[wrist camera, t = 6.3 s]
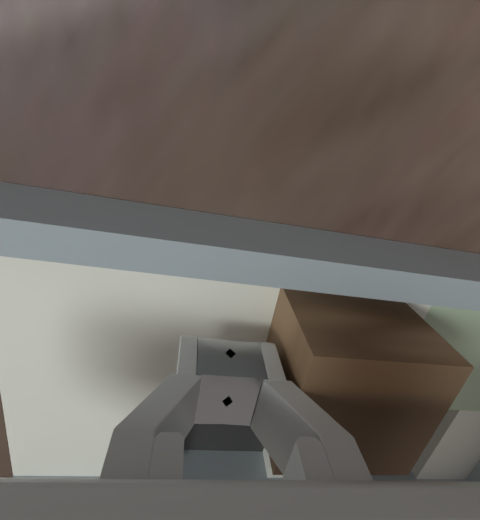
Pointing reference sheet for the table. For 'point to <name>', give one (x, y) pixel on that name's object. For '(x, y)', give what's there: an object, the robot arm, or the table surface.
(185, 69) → the table surface
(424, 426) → the walnut block
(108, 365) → the track
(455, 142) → the table surface
